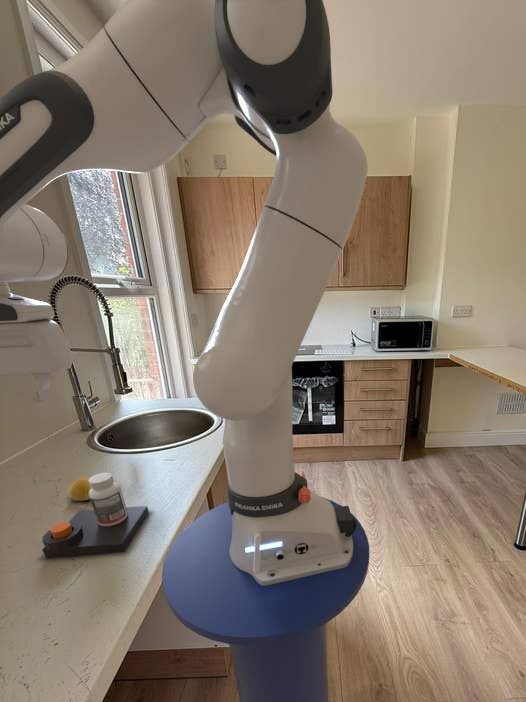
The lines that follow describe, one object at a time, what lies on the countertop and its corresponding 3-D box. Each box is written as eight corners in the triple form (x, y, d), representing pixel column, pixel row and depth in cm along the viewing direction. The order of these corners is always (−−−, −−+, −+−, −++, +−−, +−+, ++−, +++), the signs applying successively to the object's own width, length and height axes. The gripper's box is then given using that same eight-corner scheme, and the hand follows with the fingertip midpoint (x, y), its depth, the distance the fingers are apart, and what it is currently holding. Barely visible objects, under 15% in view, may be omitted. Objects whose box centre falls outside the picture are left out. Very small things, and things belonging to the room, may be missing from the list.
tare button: (75, 528, 66) (73, 521, 66) (66, 538, 64) (63, 531, 63) (59, 529, 66) (56, 522, 66) (49, 539, 63) (46, 532, 63)
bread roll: (111, 497, 82) (106, 483, 80) (67, 505, 79) (61, 490, 78) (118, 480, 89) (114, 466, 87) (77, 487, 86) (73, 473, 85)
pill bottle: (101, 514, 72) (88, 473, 69) (130, 508, 74) (118, 468, 70) (95, 530, 68) (80, 487, 64) (126, 523, 69) (113, 481, 65)
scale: (149, 513, 76) (145, 499, 74) (123, 553, 64) (118, 538, 63) (80, 517, 75) (75, 504, 73) (41, 559, 63) (34, 544, 62)
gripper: (-129, 312, 46) (-79, 411, 51) (35, 307, 47) (66, 405, 52) (-81, 309, 51) (-41, 398, 57) (63, 305, 53) (89, 393, 58)
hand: (12, 401), depth 54 cm, fingers open, 8 cm apart
